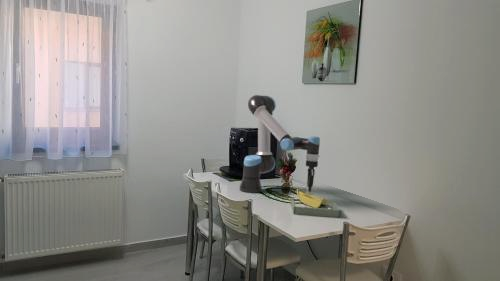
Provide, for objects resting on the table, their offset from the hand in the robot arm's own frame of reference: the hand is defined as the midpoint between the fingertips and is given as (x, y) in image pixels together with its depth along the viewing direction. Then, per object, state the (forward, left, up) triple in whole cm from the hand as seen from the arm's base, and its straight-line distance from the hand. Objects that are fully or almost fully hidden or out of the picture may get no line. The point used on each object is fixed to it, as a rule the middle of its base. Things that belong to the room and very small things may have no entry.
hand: (308, 196), depth 242 cm
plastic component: (+10, 0, -2) cm, 10 cm away
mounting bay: (+27, 0, -2) cm, 27 cm away
